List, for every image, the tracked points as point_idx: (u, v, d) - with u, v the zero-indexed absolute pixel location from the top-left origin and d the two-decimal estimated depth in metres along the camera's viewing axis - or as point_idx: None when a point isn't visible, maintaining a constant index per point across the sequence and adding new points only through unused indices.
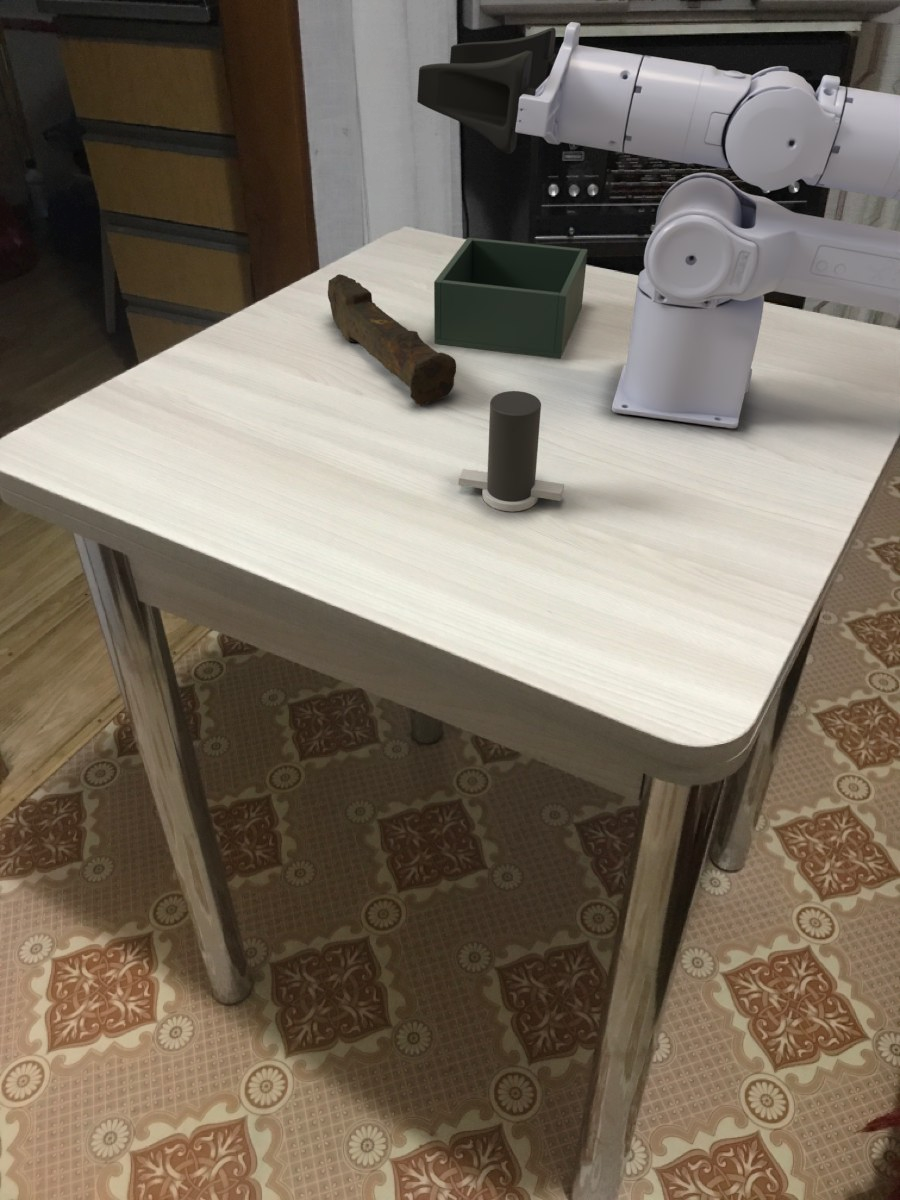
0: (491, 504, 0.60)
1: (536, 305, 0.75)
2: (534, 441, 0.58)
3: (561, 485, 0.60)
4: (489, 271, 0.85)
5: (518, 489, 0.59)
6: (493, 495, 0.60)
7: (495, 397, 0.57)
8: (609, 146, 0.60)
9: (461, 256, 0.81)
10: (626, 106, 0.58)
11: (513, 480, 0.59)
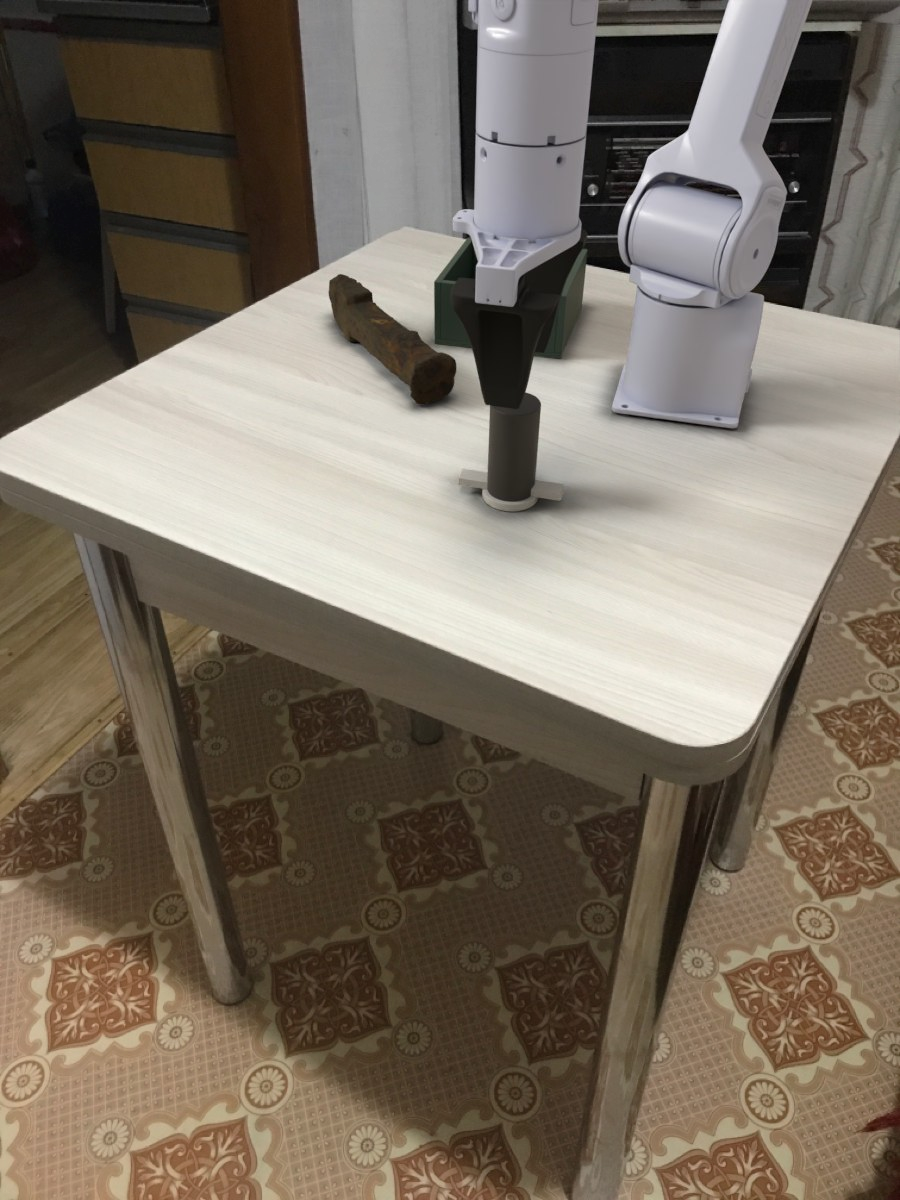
0: (491, 504, 0.60)
1: None
2: (534, 441, 0.58)
3: (561, 485, 0.60)
4: None
5: (518, 489, 0.59)
6: (493, 495, 0.60)
7: None
8: (567, 163, 0.46)
9: (461, 256, 0.81)
10: (510, 150, 0.45)
11: (513, 480, 0.59)
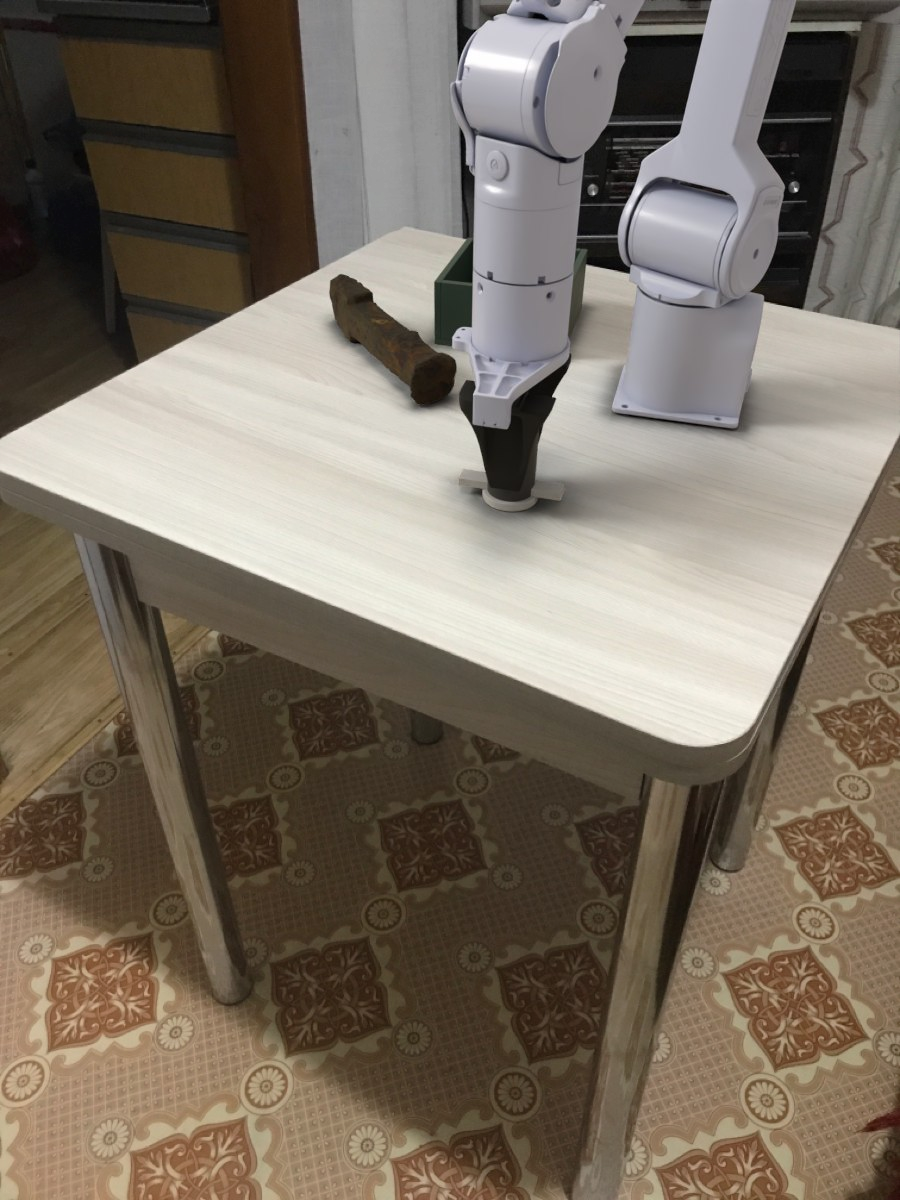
0: (491, 504, 0.60)
1: None
2: None
3: (561, 485, 0.60)
4: None
5: None
6: (493, 495, 0.60)
7: None
8: (556, 297, 0.50)
9: (461, 256, 0.81)
10: (504, 287, 0.50)
11: None
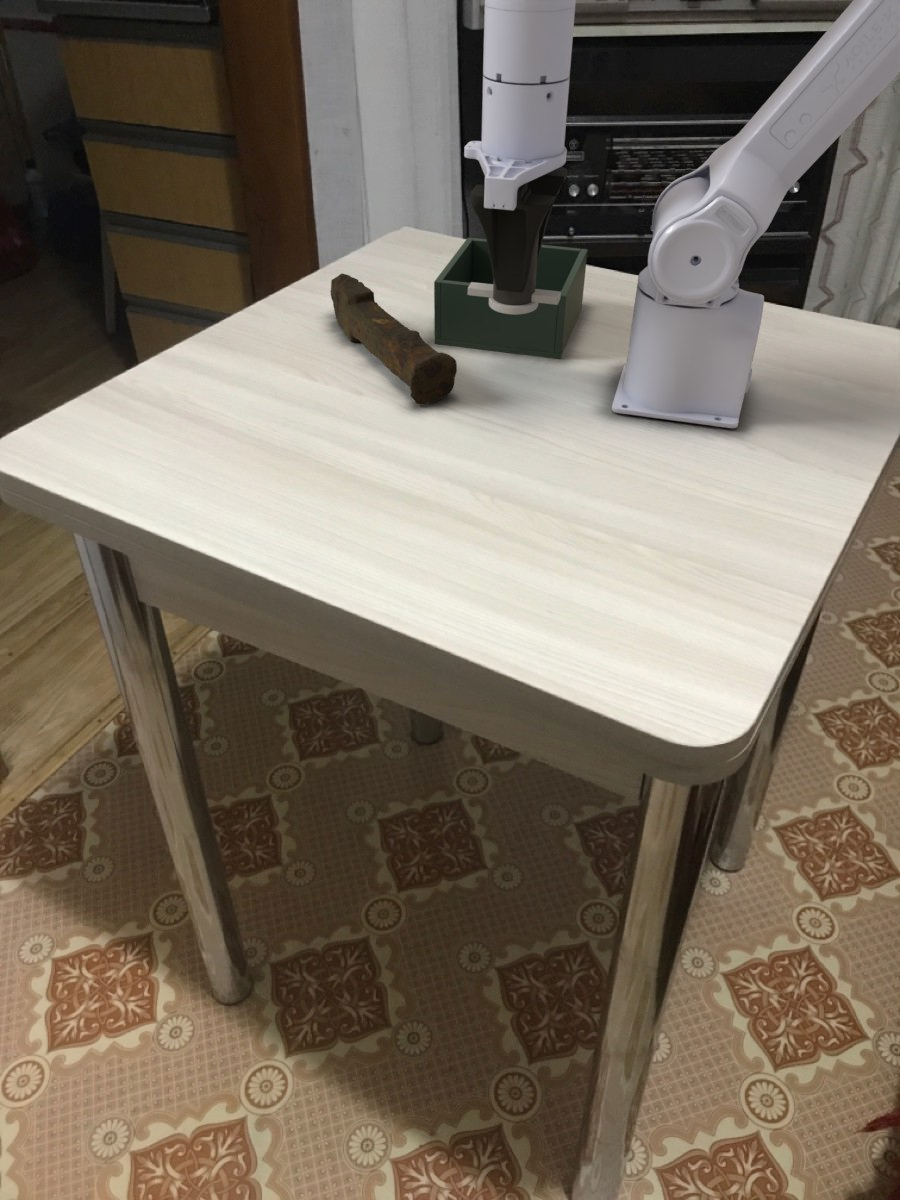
0: (497, 309, 0.69)
1: None
2: None
3: (558, 292, 0.69)
4: (489, 271, 0.85)
5: (520, 293, 0.68)
6: (498, 301, 0.69)
7: None
8: (554, 98, 0.59)
9: (461, 256, 0.81)
10: (510, 87, 0.58)
11: None
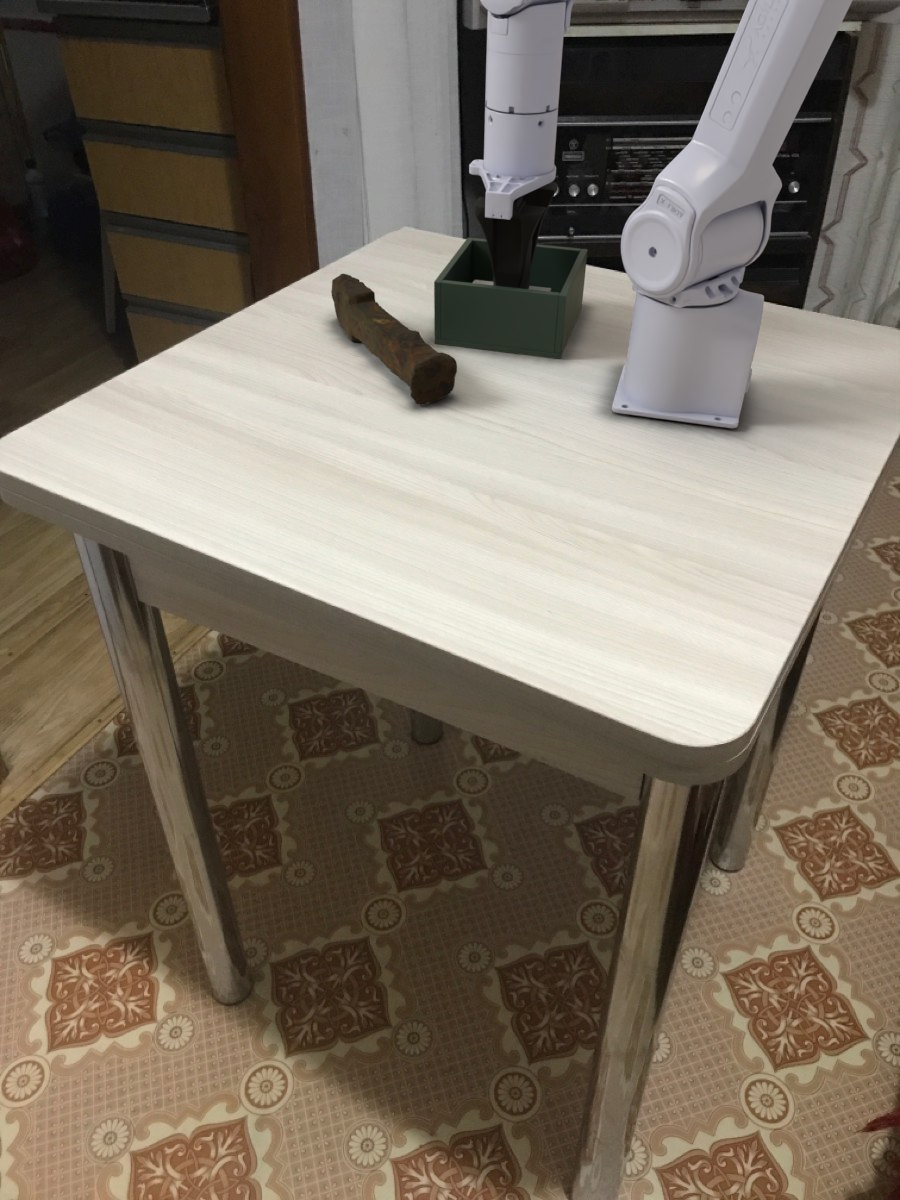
0: None
1: (536, 305, 0.75)
2: None
3: (549, 288, 0.80)
4: (489, 271, 0.85)
5: None
6: None
7: None
8: (545, 125, 0.70)
9: (461, 256, 0.81)
10: (507, 116, 0.69)
11: None
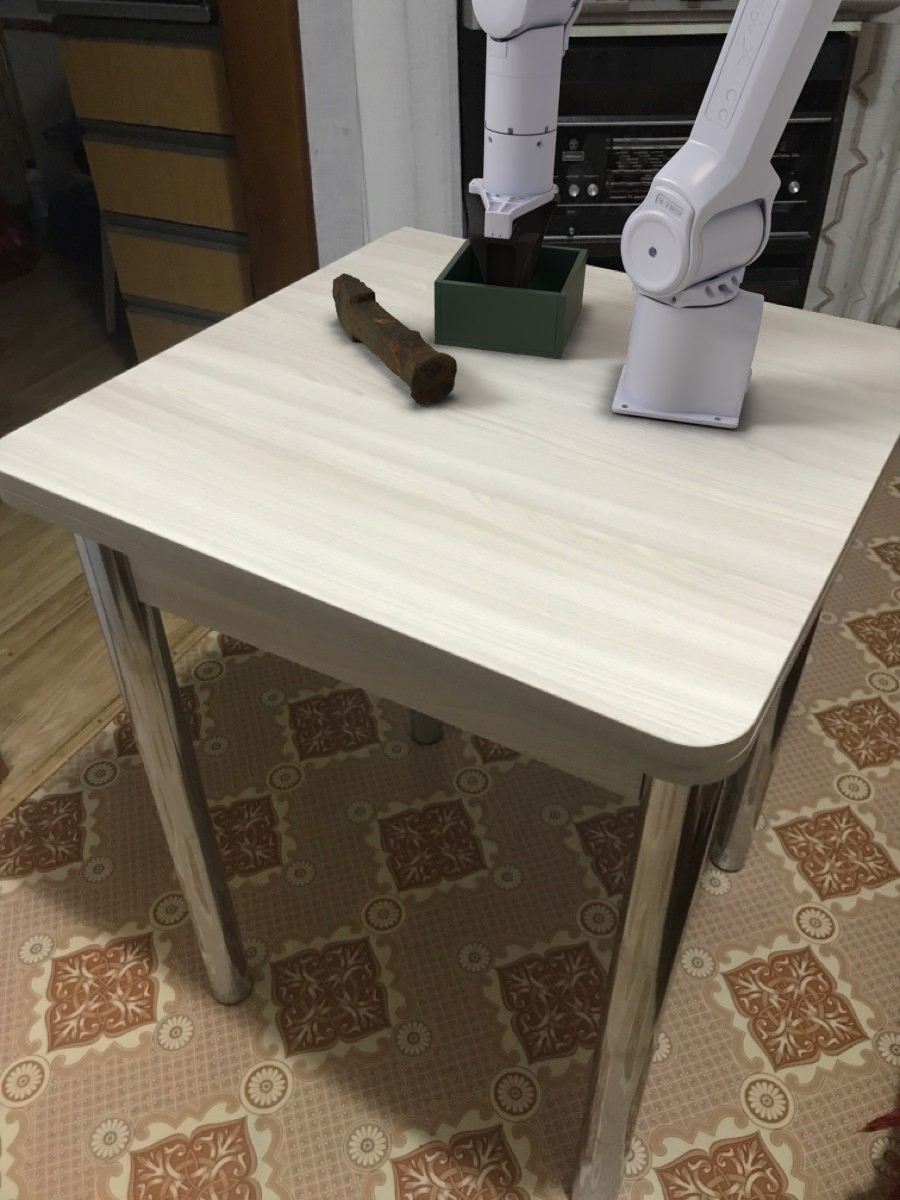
0: None
1: (536, 305, 0.75)
2: (527, 271, 0.78)
3: None
4: None
5: None
6: None
7: None
8: (544, 146, 0.71)
9: (461, 256, 0.81)
10: (506, 137, 0.70)
11: None
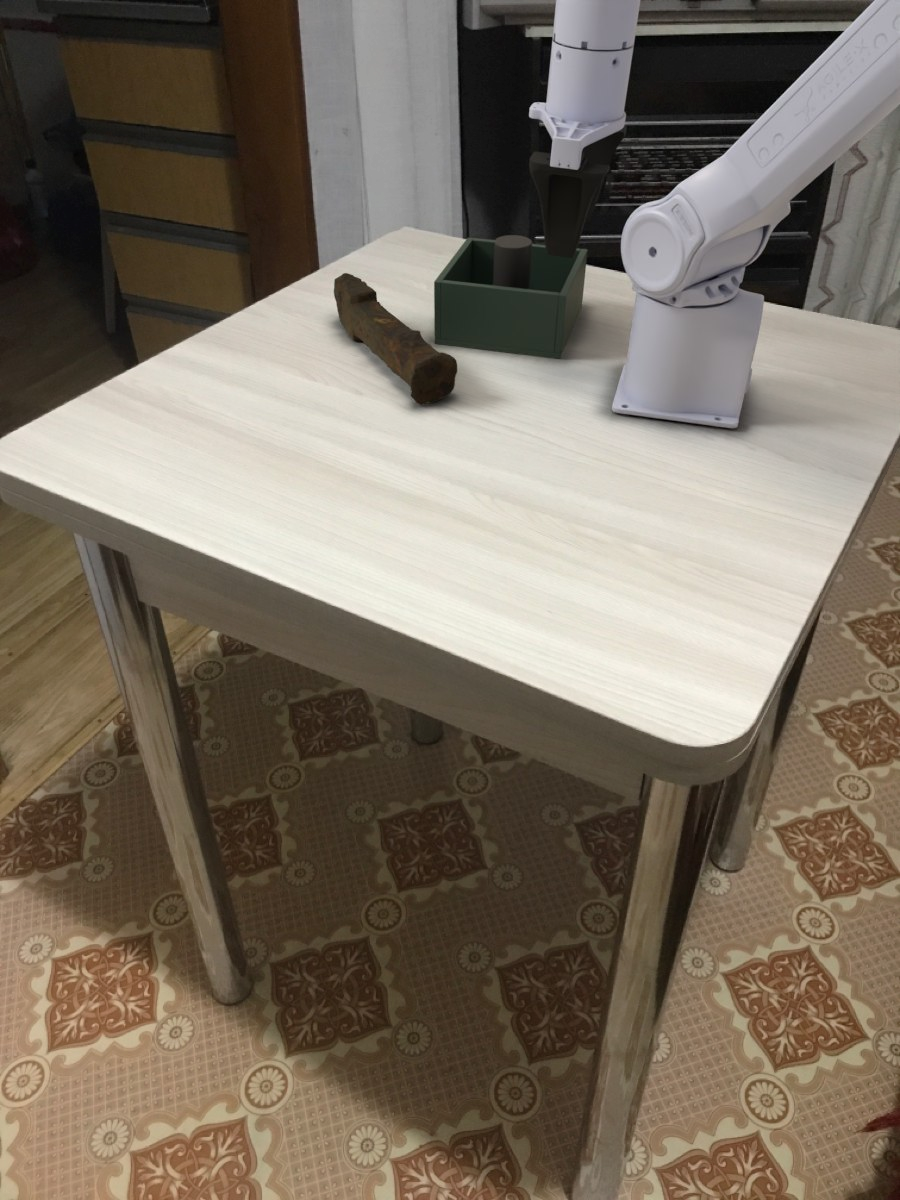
0: None
1: (536, 305, 0.75)
2: (527, 271, 0.78)
3: None
4: (489, 271, 0.85)
5: None
6: None
7: (498, 238, 0.78)
8: (619, 64, 0.63)
9: (461, 256, 0.81)
10: (579, 53, 0.62)
11: None
